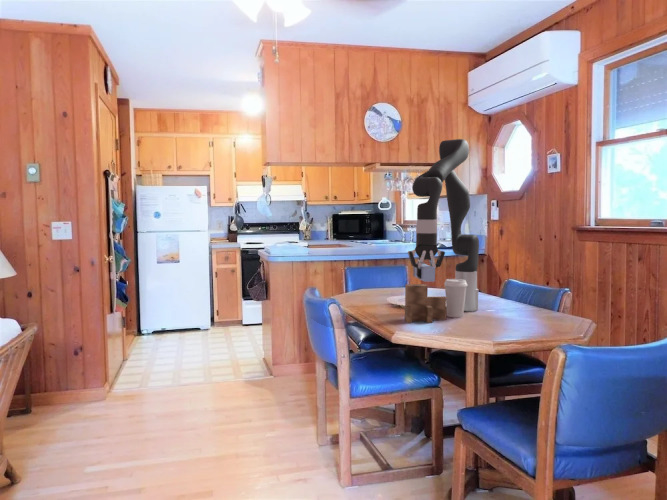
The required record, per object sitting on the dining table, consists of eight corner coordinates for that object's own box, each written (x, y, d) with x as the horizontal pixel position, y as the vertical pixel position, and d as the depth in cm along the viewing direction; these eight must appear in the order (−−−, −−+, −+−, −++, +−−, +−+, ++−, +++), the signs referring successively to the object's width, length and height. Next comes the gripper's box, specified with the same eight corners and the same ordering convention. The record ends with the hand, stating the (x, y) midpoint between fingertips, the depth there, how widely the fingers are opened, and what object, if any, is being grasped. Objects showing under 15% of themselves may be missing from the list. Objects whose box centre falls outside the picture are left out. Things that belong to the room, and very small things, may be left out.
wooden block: (443, 318, 202) (444, 284, 201) (449, 322, 194) (450, 286, 193) (402, 318, 200) (402, 284, 199) (407, 323, 192) (407, 287, 192)
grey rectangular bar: (435, 281, 179) (435, 266, 179) (423, 281, 179) (423, 267, 178) (423, 276, 195) (423, 262, 194) (413, 276, 194) (413, 262, 194)
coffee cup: (462, 319, 200) (463, 282, 199) (439, 316, 205) (440, 280, 204) (469, 315, 208) (470, 279, 207) (447, 312, 213) (448, 278, 212)
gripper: (409, 232, 178) (409, 280, 179) (448, 232, 179) (447, 279, 180) (405, 231, 186) (404, 277, 187) (442, 231, 187) (441, 277, 188)
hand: (425, 278), depth 184 cm, fingers closed on grey rectangular bar, 4 cm apart
